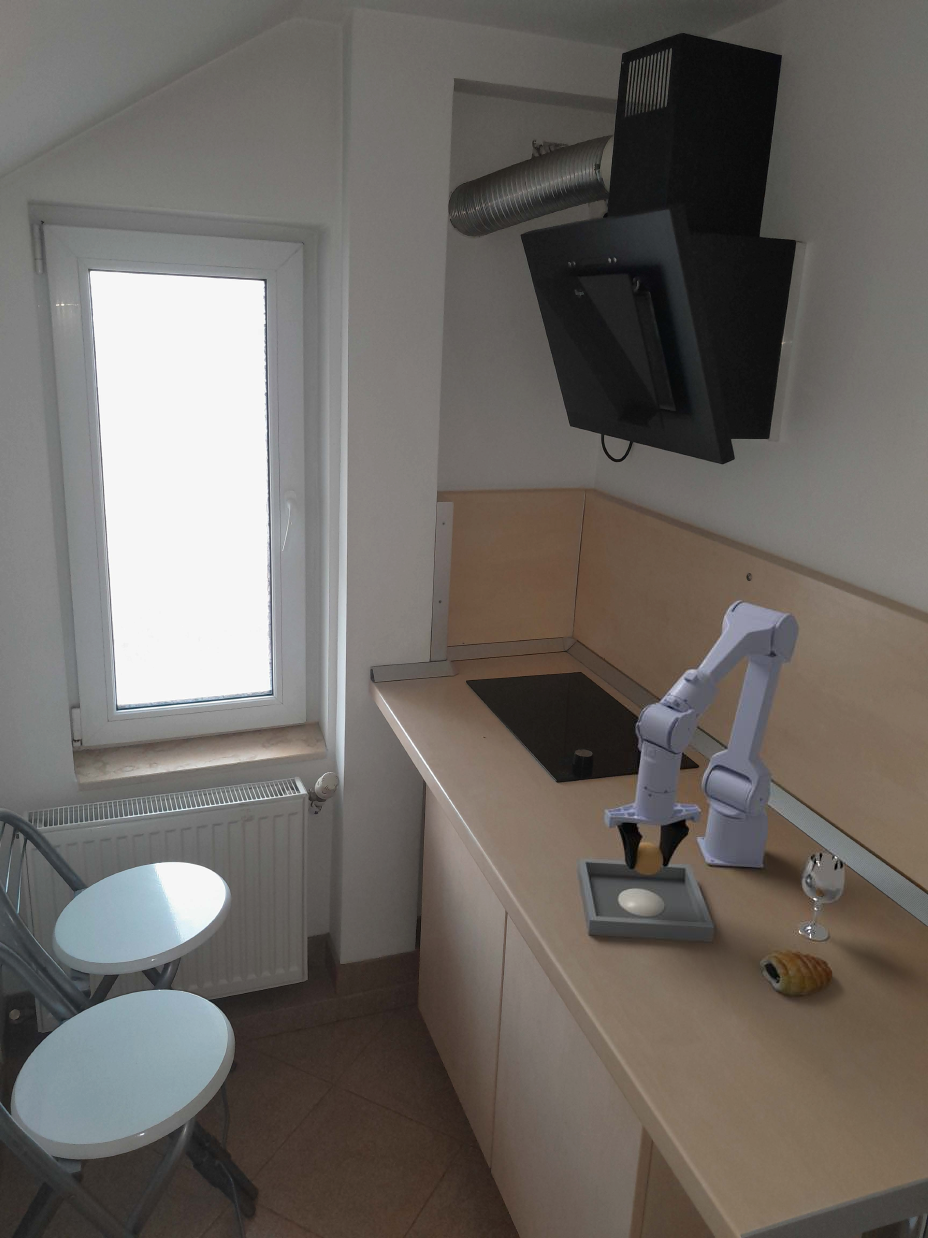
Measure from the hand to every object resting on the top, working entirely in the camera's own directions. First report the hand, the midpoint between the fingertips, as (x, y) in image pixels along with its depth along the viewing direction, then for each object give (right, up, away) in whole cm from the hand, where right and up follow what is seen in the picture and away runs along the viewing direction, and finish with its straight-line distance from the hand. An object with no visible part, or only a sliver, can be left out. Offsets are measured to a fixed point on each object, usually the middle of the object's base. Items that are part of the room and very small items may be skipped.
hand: (646, 864), depth 136 cm
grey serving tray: (0, -7, +2) cm, 7 cm away
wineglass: (+24, -10, -2) cm, 26 cm away
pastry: (+18, -13, -12) cm, 25 cm away
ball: (0, +1, 0) cm, 1 cm away
